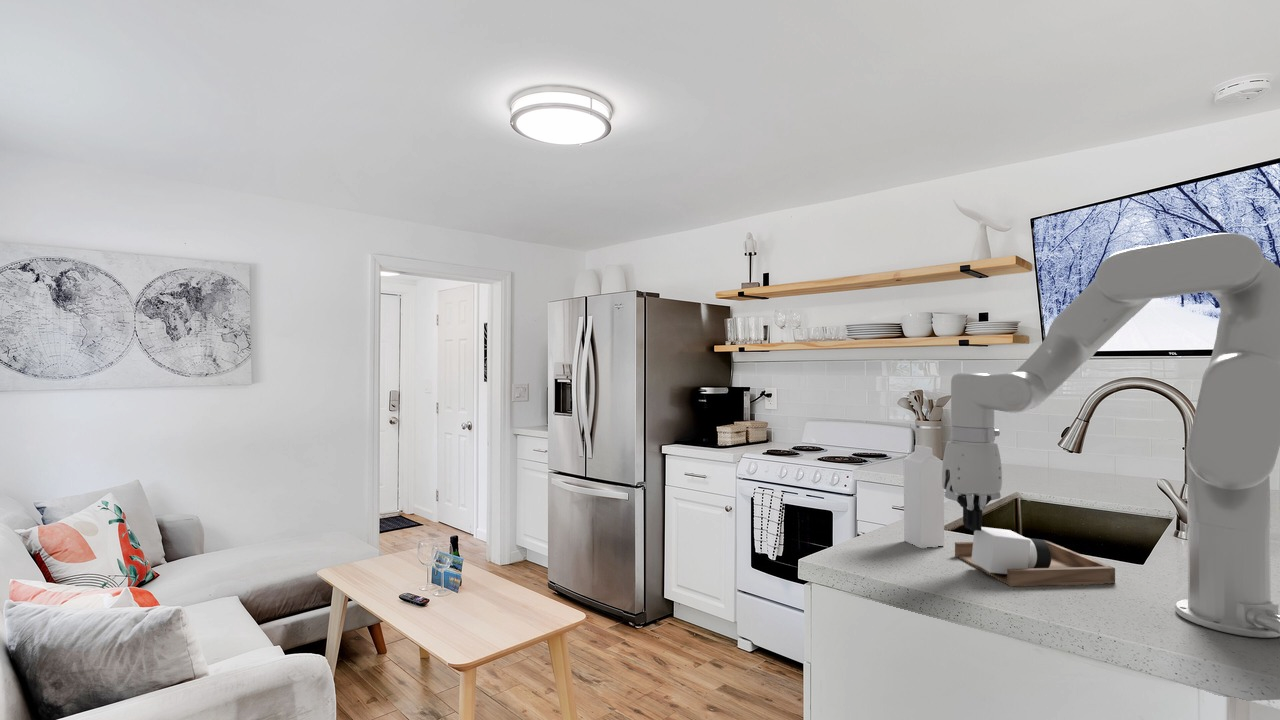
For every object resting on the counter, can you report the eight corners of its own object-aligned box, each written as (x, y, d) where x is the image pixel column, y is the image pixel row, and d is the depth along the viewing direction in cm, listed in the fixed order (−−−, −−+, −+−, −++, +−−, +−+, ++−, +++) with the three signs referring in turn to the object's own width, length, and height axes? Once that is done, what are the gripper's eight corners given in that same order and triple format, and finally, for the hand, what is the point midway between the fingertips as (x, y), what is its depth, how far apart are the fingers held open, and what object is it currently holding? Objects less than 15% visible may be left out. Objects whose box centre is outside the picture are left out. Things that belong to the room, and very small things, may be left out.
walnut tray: (1115, 583, 115) (1115, 568, 115) (1010, 586, 114) (1010, 570, 114) (1045, 553, 133) (1045, 540, 133) (954, 556, 132) (954, 542, 132)
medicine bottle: (989, 573, 117) (1054, 580, 117) (993, 535, 117) (1058, 542, 117) (970, 561, 124) (1031, 568, 124) (974, 525, 124) (1035, 532, 124)
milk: (926, 539, 144) (926, 444, 144) (944, 547, 138) (944, 447, 138) (903, 541, 143) (903, 444, 143) (920, 548, 137) (920, 448, 137)
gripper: (996, 433, 127) (997, 523, 127) (925, 433, 126) (925, 524, 126) (1021, 437, 119) (1022, 533, 119) (946, 438, 119) (946, 535, 119)
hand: (972, 528), depth 123 cm, fingers closed
